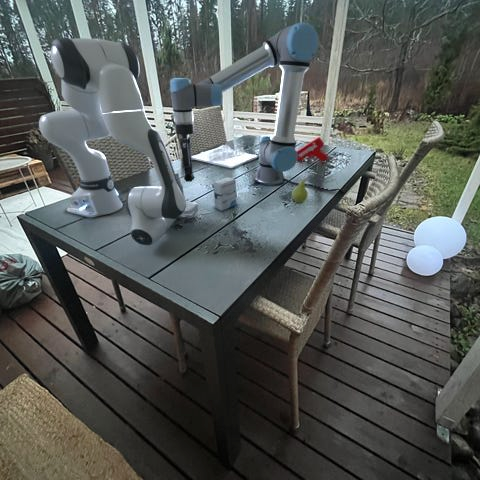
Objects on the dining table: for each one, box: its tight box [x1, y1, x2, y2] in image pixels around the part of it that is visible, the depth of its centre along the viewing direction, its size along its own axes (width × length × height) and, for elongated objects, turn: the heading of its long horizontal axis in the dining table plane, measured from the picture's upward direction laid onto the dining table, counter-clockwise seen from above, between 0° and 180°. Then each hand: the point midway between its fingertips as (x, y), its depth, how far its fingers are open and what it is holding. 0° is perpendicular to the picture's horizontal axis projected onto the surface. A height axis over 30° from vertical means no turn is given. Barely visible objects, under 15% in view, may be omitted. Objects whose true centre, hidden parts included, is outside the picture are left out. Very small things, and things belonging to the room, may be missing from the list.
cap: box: [183, 173, 195, 181], centre depth 120 cm, size 4×4×2 cm
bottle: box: [174, 170, 184, 192], centre depth 107 cm, size 5×5×18 cm
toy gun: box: [296, 136, 329, 164], centre depth 170 cm, size 18×4×15 cm
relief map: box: [191, 144, 259, 169], centre depth 178 cm, size 27×35×5 cm
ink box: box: [212, 176, 237, 211], centre depth 115 cm, size 8×5×12 cm, turn 135°
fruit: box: [291, 174, 311, 204], centre depth 118 cm, size 7×8×12 cm
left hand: (178, 199), depth 109 cm, fingers closed on bottle, 5 cm apart
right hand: (189, 179), depth 121 cm, fingers closed on cap, 4 cm apart
